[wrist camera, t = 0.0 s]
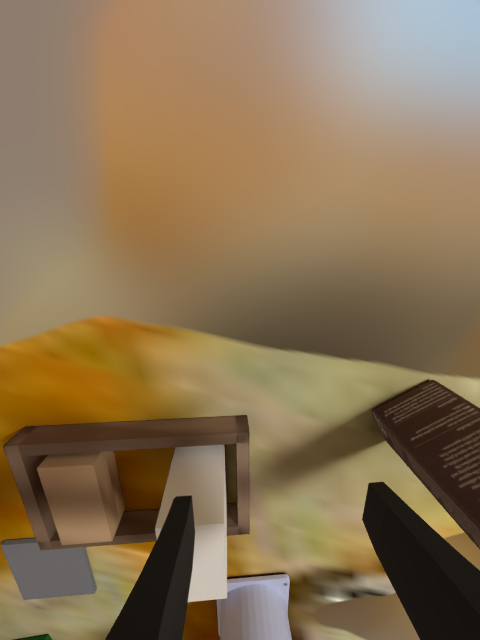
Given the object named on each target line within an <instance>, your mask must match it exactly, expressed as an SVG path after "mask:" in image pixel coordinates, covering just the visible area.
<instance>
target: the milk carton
mask: <svg viewBox="0 0 480 640" xmlns="http://www.w3.org/2000/svg"><path fill="white" fill-rule="evenodd" d="M19 640H51V638H50V637H49V635H43V636H37V637H31V638H25V639H19Z"/></svg>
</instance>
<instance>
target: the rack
mask: <svg viewBox="0 0 480 640" xmlns="http://www.w3.org/2000/svg"><path fill="white" fill-rule="evenodd" d="M225 444H236V473H237V504H227V536H228V535H241V534H250V494H249V426H248V419H247V415H242V416H223V417H204V418H184V419H165V420H146V421H127V422H107V423H88V424H69V425H50V426H31V427H24V428H23V429H22V430H21V431H20V432H19V433H17V434H16V435H15V436H14V437H13V438H12V439H11V440H9V441H8V442H7V443H6V444H5V445H4V446H3V448H4V451H5V453H6V456H7V459H8V462H9V465H10V467H11V470H12V473H13V476H14V479H15V481H16V484H17V487H18V490H19V493H20V495H21V498H22V501H23V504H24V506H25V509H26V512H27V515H28V518H29V520H30V523H31V526H32V529H33V532H34V534H35V537H36V540H37V543H38V545H39V548H40V551H41V550H53V549H66V548H78V547H91V546H103V545H116V544H128V543H141V542H153V541H157V538H156V532H155V526H156V522H157V518H158V514H159V511H160V509H157V510H143V511H129V512H123V515H122V517H121V520H120V522H119V525H118V527H117V530H116V533H115V535H114V538H113V540H112V541H109V542H97V543H84V544H72V545H62V544H61V541H60V538H59V535H58V532H57V529H56V526H55V523H54V520H53V517H52V514H51V510H50V507H49V504H48V501H47V498H46V495H45V492H44V489H43V486H42V483H41V480H40V477H39V474H38V471H37V467H38V466H39V465H40V464H41V463H42V462H43V461H44V459H45V458H46V457H47V455H54V454H71V453H88V452H105V451H122V450H139V449H156V448H173V447H190V446H208V445H225Z"/></svg>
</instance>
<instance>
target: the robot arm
mask: <svg viewBox="0 0 480 640" xmlns="http://www.w3.org/2000/svg"><path fill="white" fill-rule="evenodd" d="M362 520H363V522H364V525H365V527H366V530H367V533H368V535H369V538H370V540H371V542H372V545H373V547H374V549H375V552H376V554H377V556H378V558H379V560H380V562H381V564H382V566H383V568H384V570H385V572H386V574H387V576H388V578H389V580H390V582H391V584H392V586H393V587H394V589H395V591H396V593H397V595H398V597H399V599H400V601H401V603H402V605H403V607H404V608H405V611H406V613H407V615H408V616H409V619H410V620H411V622H412V624H413V626H414V628H415V630H416V632H417V634H418V636H419V638H420V640H480V571H479V570H478V569H477V568H476V567H475V566H474V565H472V564H471V563H470V562H469V561H468V560H467V559H466V558H464V557H463V556H462V555H461V554H460V553H459V552H458V551H457V550H455V549H454V548H453V547H452V546H451V545H450V544H449V543H448V542H447V541H445V540H444V539H443V538H442V537H441V536H440V535H439V534H438V533H437V532H436V531H435V530H433V529H432V528H431V527H430V526H429V525H428V524H427V523H426V522H425V521H424V520H423V519H422V518H421V517H420V516H419V515H417V514H416V513H415V512H414V511H413V510H412V509H411V508H410V507H409V506H408V505H407V504H406V503H405V502H404V501H403V500H402V499H401V498H400V497H399V496H397V495H396V494H395V493H394V492H393V491H392V490H391V489H390V488H389V487H388V486H387V485H386V484H385V483H384V482H376V483H369V485H368V491H367V496H366V502H365V507H364V513H363V518H362ZM194 543H195V525H194V514H193V503H192V495H190V496H176V497H175V498H174V499H173V502H172V505H171V507H170V510H169V513H168V515H167V518H166V520H165V522H164V525H163V527H162V529H161V532H160V534H159V536H158V538H157V541H156V543H155V545H154V547H153V549H152V551H151V553H150V555H149V558H148V560H147V562H146V564H145V566H144V568H143V570H142V572H141V574H140V576H139V578H138V580H137V582H136V584H135V586H134V588H133V589H132V591H131V593H130V595H129V597H128V599H127V601H126V603H125V605H124V607H123V609H122V610H121V612H120V614H119V616H118V618H117V619H116V621H115V623H114V625H113V627H112V628H111V630H110V632H109V634H108V635H107V637H106V639H105V640H182V635H183V629H184V622H185V615H186V609H187V602H188V596H189V589H190V582H191V575H192V568H193V556H194ZM289 583H290V580H289V576H288V575H287V574H280V575H269V576H258V577H246V578H235V579H227V598H225V599H216V600H217V616H218V632H219V636H220V640H292V639H291V633H290V627H289V621H288V616H287V612H288V597H289Z"/></svg>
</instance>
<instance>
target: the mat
mask: <svg viewBox="0 0 480 640" xmlns="http://www.w3.org/2000/svg"><path fill="white" fill-rule="evenodd" d="M1 547H2V549H3V552H4V554H5V557H6V559H7V561H8V564H9V566H10V568H11V571H12V573H13V575H14V578H15V580H16V583H17V585H18V587H19V590H20V592H21V594H22V597H23V599H24V600H28V599H39V598H50V597H61V596H72V595H83V594H94V593H95V591H96V584H95V581H94V577H93V574H92V570H91V567H90V563H89V559H88V556H87V552H86V549H85V547H78V548H66V549H53V550H41V551H40V548H39V545H38V543H37V540H36V538H28V539H15V540H4V542H3V543H2V544H1Z"/></svg>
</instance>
